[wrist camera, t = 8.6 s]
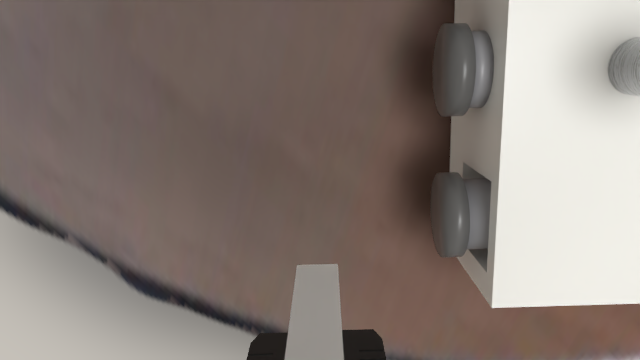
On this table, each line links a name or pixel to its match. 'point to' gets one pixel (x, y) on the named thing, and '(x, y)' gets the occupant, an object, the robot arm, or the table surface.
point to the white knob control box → (546, 147)
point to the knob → (459, 213)
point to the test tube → (626, 67)
